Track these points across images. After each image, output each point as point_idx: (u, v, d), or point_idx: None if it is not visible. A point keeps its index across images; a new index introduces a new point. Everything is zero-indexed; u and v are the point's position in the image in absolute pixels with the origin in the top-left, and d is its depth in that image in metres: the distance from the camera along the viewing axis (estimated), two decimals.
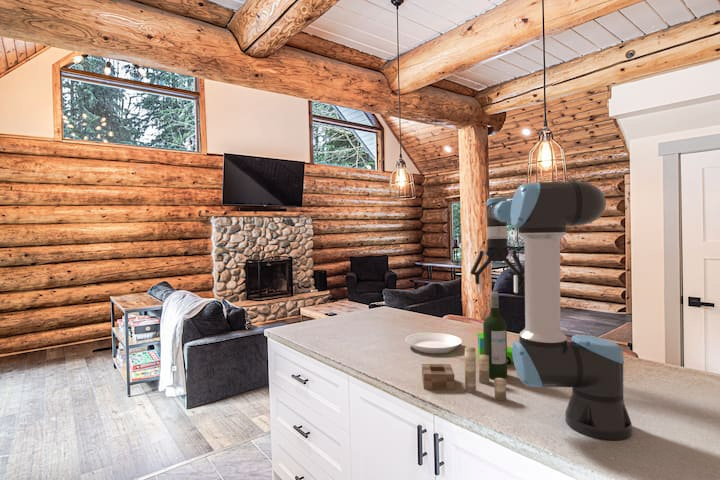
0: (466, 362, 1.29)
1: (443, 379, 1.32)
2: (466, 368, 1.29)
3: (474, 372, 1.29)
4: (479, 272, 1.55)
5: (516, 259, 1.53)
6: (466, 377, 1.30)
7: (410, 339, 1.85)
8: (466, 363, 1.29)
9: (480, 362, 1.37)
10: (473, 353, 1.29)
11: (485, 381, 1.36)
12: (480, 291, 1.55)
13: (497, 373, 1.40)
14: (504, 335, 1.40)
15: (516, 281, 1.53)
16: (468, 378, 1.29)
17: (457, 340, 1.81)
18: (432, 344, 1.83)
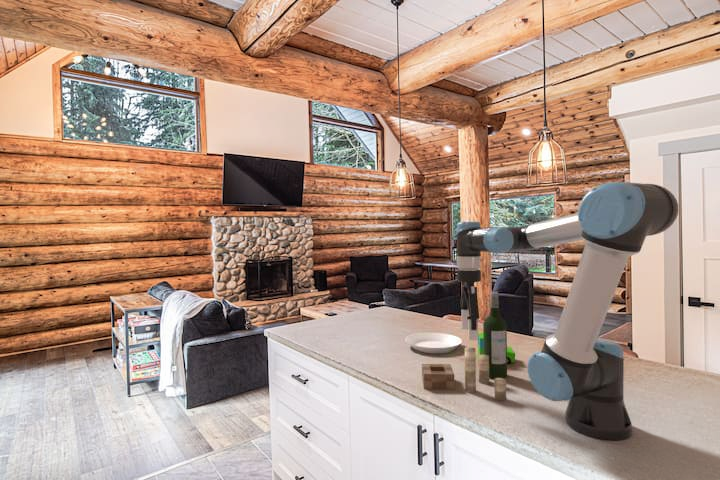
0: (466, 362, 1.29)
1: (443, 379, 1.32)
2: (466, 368, 1.29)
3: (474, 372, 1.29)
4: (461, 305, 1.37)
5: (469, 298, 1.23)
6: (466, 377, 1.30)
7: (410, 339, 1.85)
8: (466, 363, 1.29)
9: (480, 362, 1.37)
10: (473, 353, 1.29)
11: (485, 381, 1.36)
12: None
13: (497, 373, 1.40)
14: (504, 335, 1.40)
15: None
16: (468, 378, 1.29)
17: (457, 340, 1.81)
18: (432, 344, 1.83)
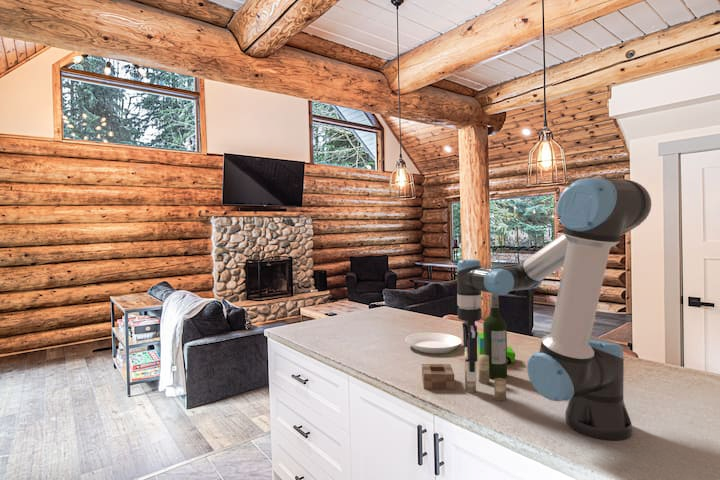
0: (466, 362, 1.29)
1: (443, 379, 1.32)
2: (466, 368, 1.29)
3: None
4: None
5: (469, 341, 1.25)
6: (466, 377, 1.29)
7: (410, 339, 1.85)
8: (466, 363, 1.29)
9: (480, 362, 1.37)
10: None
11: (485, 381, 1.36)
12: None
13: (497, 373, 1.40)
14: (504, 335, 1.40)
15: None
16: None
17: (457, 340, 1.81)
18: (432, 344, 1.83)
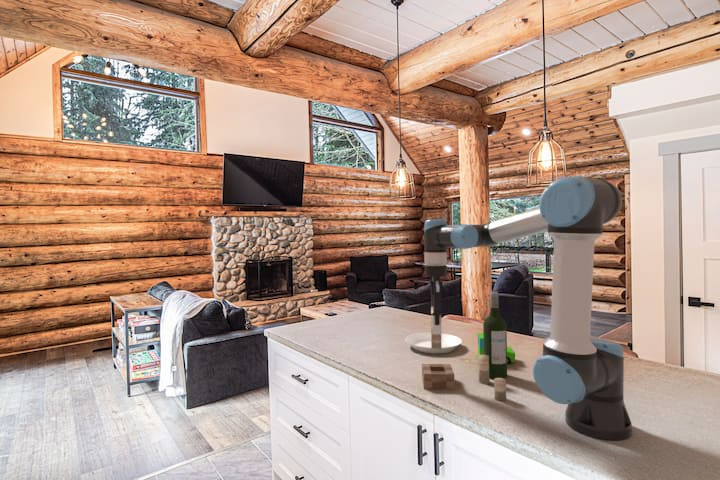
0: (432, 320, 1.36)
1: (443, 379, 1.32)
2: (432, 325, 1.36)
3: None
4: None
5: (434, 295, 1.32)
6: (432, 334, 1.36)
7: (410, 339, 1.85)
8: (432, 321, 1.36)
9: (480, 362, 1.37)
10: None
11: (485, 381, 1.36)
12: None
13: (497, 373, 1.40)
14: (504, 335, 1.40)
15: None
16: (434, 335, 1.36)
17: (457, 340, 1.81)
18: None
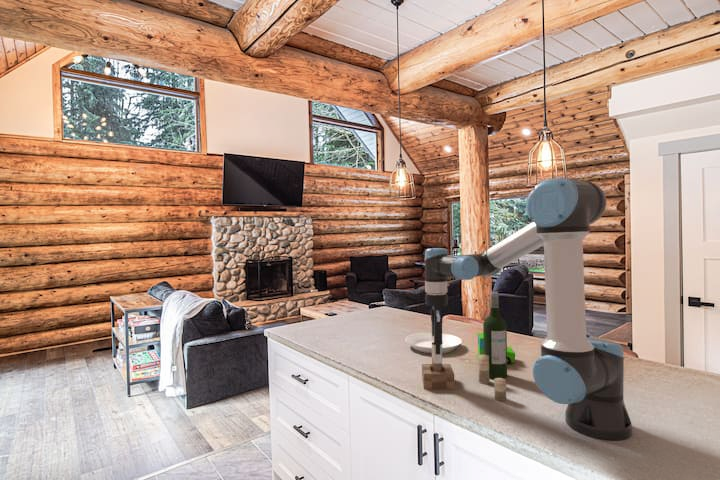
0: None
1: (443, 379, 1.32)
2: (433, 355, 1.36)
3: None
4: (432, 335, 1.40)
5: (434, 325, 1.32)
6: (433, 364, 1.37)
7: (410, 339, 1.85)
8: None
9: (480, 362, 1.37)
10: None
11: (485, 381, 1.36)
12: None
13: (497, 373, 1.40)
14: (504, 335, 1.40)
15: None
16: (434, 365, 1.36)
17: (457, 340, 1.81)
18: None
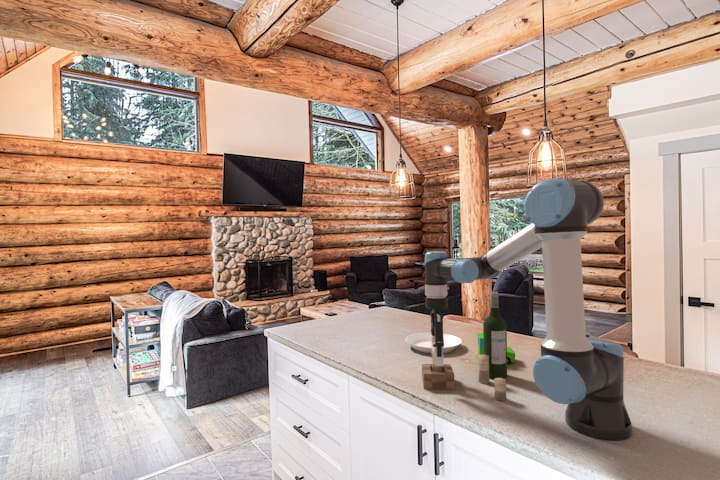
0: (433, 356, 1.36)
1: (443, 379, 1.32)
2: (433, 361, 1.36)
3: None
4: (431, 332, 1.43)
5: (435, 326, 1.30)
6: (433, 370, 1.36)
7: (410, 339, 1.85)
8: (433, 357, 1.36)
9: (480, 362, 1.37)
10: None
11: (485, 381, 1.36)
12: None
13: (497, 373, 1.40)
14: (504, 335, 1.40)
15: None
16: None
17: (457, 340, 1.81)
18: None
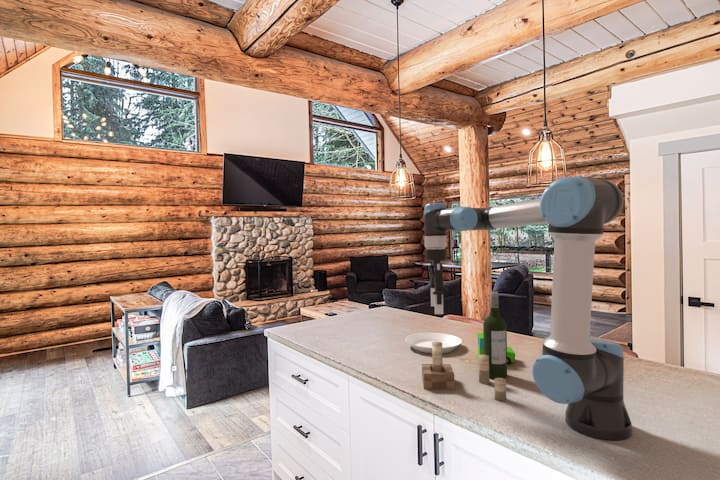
0: (433, 356, 1.36)
1: (443, 379, 1.32)
2: (433, 361, 1.36)
3: (441, 365, 1.36)
4: (431, 284, 1.44)
5: (434, 274, 1.30)
6: (433, 370, 1.36)
7: (410, 339, 1.85)
8: (433, 357, 1.36)
9: (480, 362, 1.37)
10: (440, 347, 1.35)
11: (485, 381, 1.36)
12: (431, 304, 1.44)
13: (497, 373, 1.40)
14: (504, 335, 1.40)
15: None
16: None
17: (457, 340, 1.81)
18: None
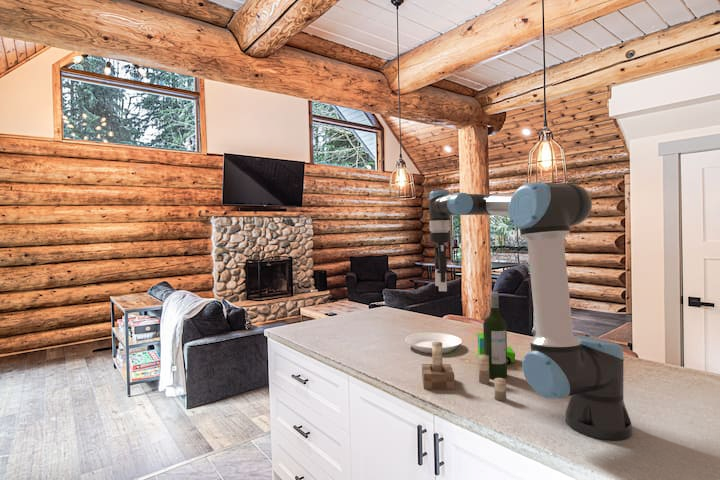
0: (433, 356, 1.36)
1: (443, 379, 1.32)
2: (433, 361, 1.36)
3: (441, 365, 1.36)
4: (435, 265, 1.57)
5: (439, 255, 1.43)
6: (433, 370, 1.36)
7: (410, 339, 1.85)
8: (433, 357, 1.36)
9: (480, 362, 1.37)
10: (440, 347, 1.35)
11: (485, 381, 1.36)
12: (435, 284, 1.57)
13: (497, 373, 1.40)
14: (504, 335, 1.40)
15: None
16: None
17: (457, 340, 1.81)
18: None
